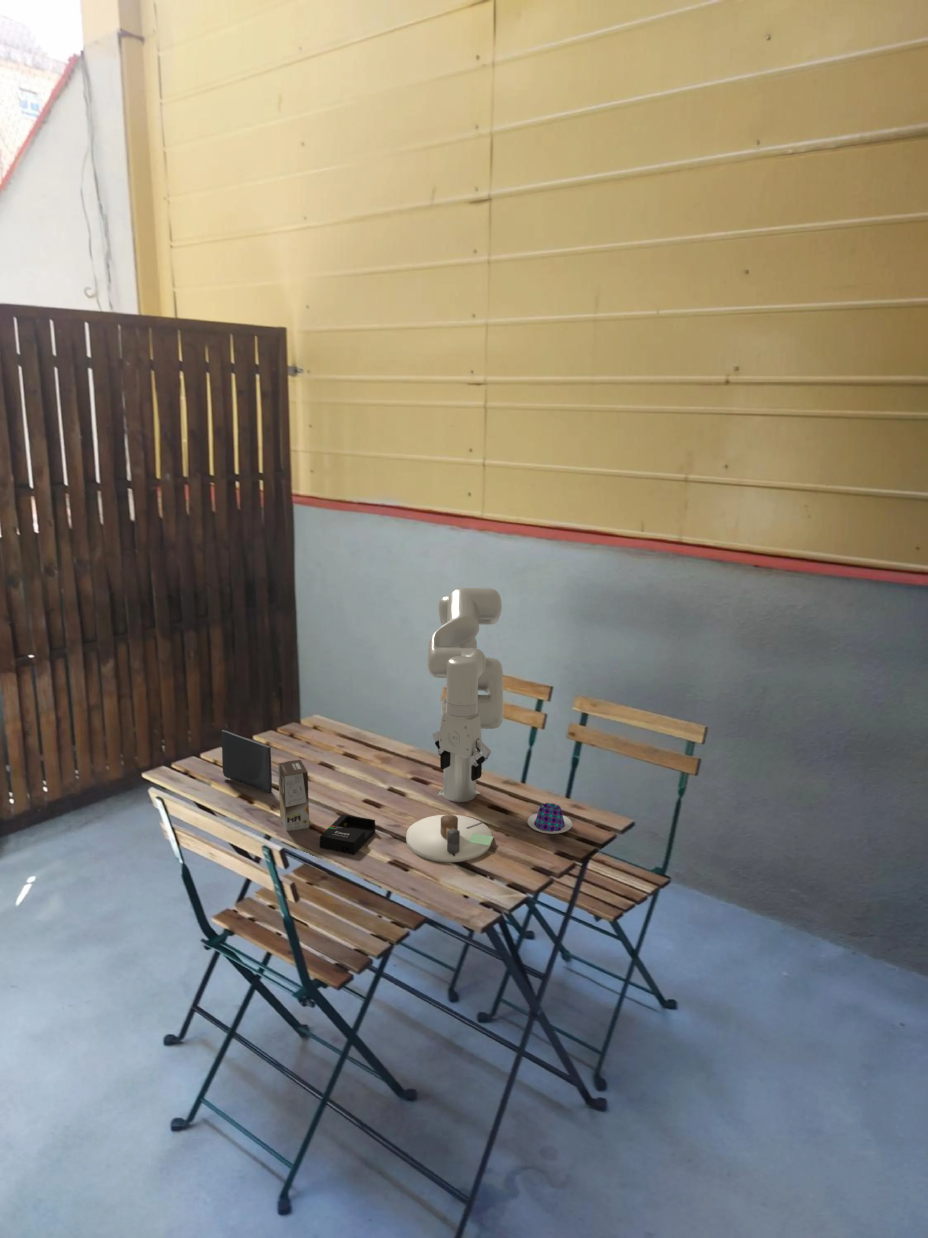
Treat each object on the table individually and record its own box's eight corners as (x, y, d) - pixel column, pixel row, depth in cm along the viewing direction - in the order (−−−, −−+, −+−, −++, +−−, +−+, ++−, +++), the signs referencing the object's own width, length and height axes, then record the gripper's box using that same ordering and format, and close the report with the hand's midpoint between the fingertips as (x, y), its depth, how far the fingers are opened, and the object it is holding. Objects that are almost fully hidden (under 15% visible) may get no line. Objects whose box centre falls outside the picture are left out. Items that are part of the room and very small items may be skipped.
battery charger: (354, 857, 205) (353, 843, 204) (319, 850, 208) (319, 836, 207) (375, 833, 217) (375, 819, 216) (342, 827, 220) (342, 813, 219)
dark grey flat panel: (275, 792, 239) (273, 743, 235) (270, 795, 237) (268, 745, 233) (227, 775, 249) (225, 728, 246) (222, 778, 248) (220, 730, 244)
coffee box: (310, 828, 218) (308, 772, 214) (286, 833, 216) (283, 776, 212) (302, 813, 227) (300, 759, 223) (279, 817, 224) (276, 762, 220)
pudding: (577, 820, 226) (578, 802, 225) (564, 840, 216) (565, 821, 214) (536, 811, 231) (536, 794, 230) (520, 830, 221) (521, 812, 219)
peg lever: (439, 829, 215) (439, 811, 214) (456, 828, 216) (456, 810, 215) (445, 854, 203) (445, 835, 202) (462, 853, 204) (463, 834, 202)
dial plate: (403, 821, 223) (403, 816, 223) (485, 818, 226) (485, 812, 226) (409, 864, 202) (409, 858, 202) (499, 860, 205) (499, 854, 204)
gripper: (424, 703, 201) (423, 768, 206) (480, 721, 191) (479, 789, 195) (444, 695, 207) (443, 758, 211) (500, 712, 197) (497, 778, 201)
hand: (460, 773), depth 203 cm, fingers open, 9 cm apart
